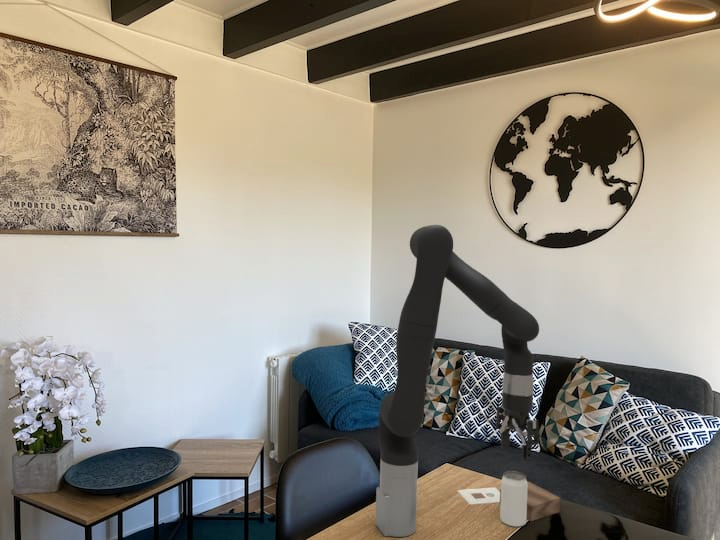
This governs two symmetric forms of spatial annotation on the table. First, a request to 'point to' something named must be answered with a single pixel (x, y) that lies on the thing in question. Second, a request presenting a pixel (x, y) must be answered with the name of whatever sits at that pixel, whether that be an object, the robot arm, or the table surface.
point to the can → (514, 499)
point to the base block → (540, 502)
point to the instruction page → (480, 495)
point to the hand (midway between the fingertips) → (515, 453)
